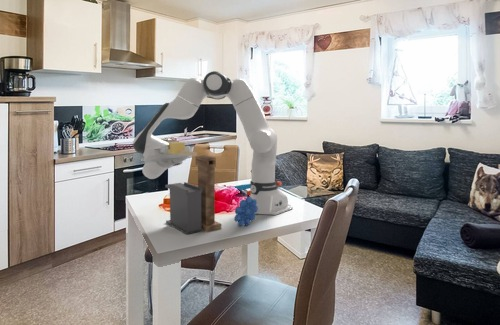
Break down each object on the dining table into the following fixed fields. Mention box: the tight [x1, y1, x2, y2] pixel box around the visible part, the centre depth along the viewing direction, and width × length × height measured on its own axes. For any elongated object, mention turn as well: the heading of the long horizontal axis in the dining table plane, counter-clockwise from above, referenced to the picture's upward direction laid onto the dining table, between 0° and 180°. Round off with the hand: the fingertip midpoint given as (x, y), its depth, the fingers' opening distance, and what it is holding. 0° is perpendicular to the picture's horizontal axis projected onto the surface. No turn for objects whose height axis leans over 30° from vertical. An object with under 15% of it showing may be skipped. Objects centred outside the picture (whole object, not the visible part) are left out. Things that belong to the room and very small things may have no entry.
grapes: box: [234, 196, 258, 227], centre depth 151 cm, size 12×7×12 cm, turn 128°
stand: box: [194, 155, 222, 233], centre depth 147 cm, size 7×12×29 cm, turn 39°
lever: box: [232, 183, 251, 196], centre depth 207 cm, size 7×7×18 cm
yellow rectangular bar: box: [168, 141, 198, 157], centre depth 142 cm, size 4×17×4 cm, turn 39°
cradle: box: [164, 182, 204, 235], centre depth 147 cm, size 7×18×17 cm, turn 39°
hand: (174, 145), depth 148 cm, fingers closed on yellow rectangular bar, 4 cm apart
